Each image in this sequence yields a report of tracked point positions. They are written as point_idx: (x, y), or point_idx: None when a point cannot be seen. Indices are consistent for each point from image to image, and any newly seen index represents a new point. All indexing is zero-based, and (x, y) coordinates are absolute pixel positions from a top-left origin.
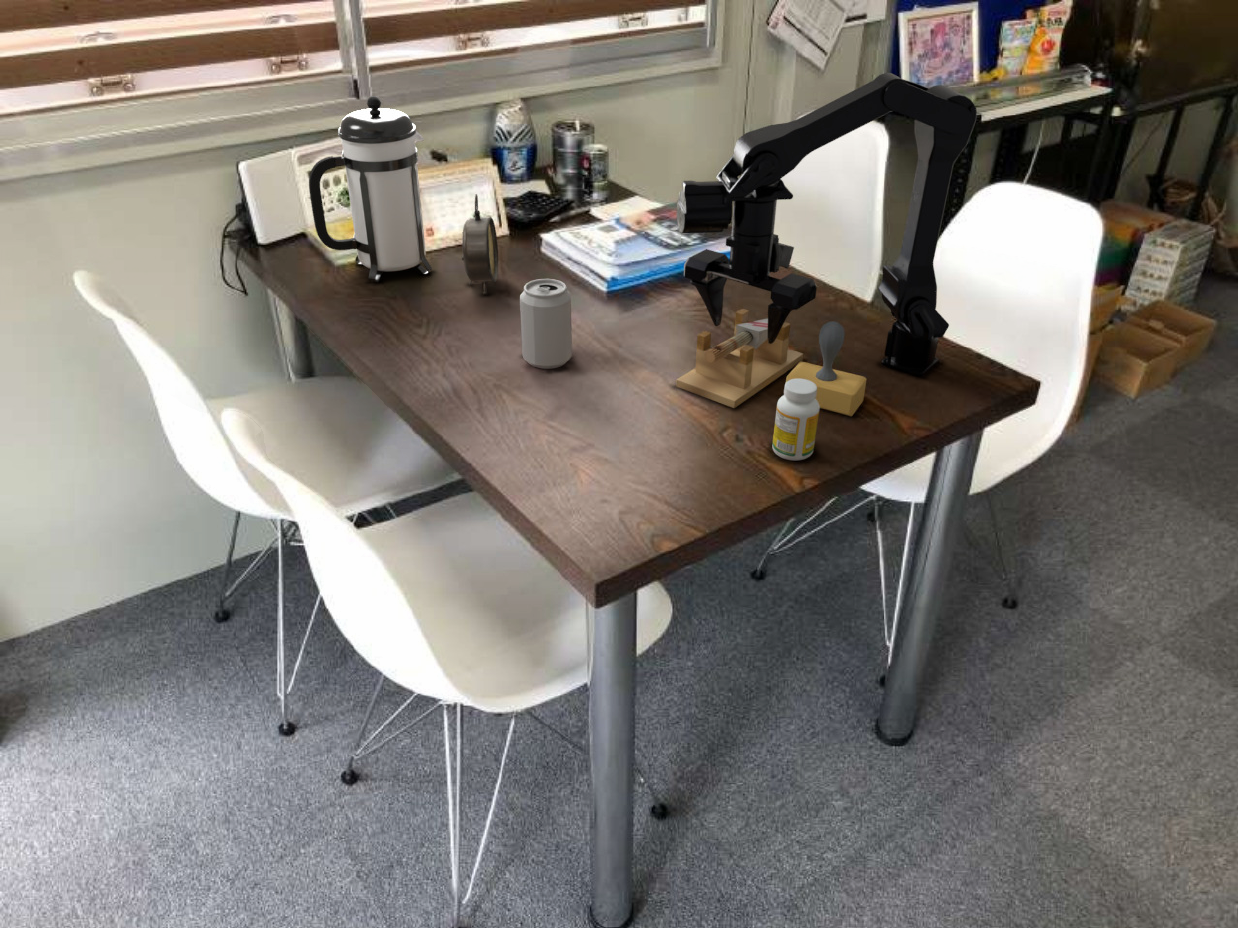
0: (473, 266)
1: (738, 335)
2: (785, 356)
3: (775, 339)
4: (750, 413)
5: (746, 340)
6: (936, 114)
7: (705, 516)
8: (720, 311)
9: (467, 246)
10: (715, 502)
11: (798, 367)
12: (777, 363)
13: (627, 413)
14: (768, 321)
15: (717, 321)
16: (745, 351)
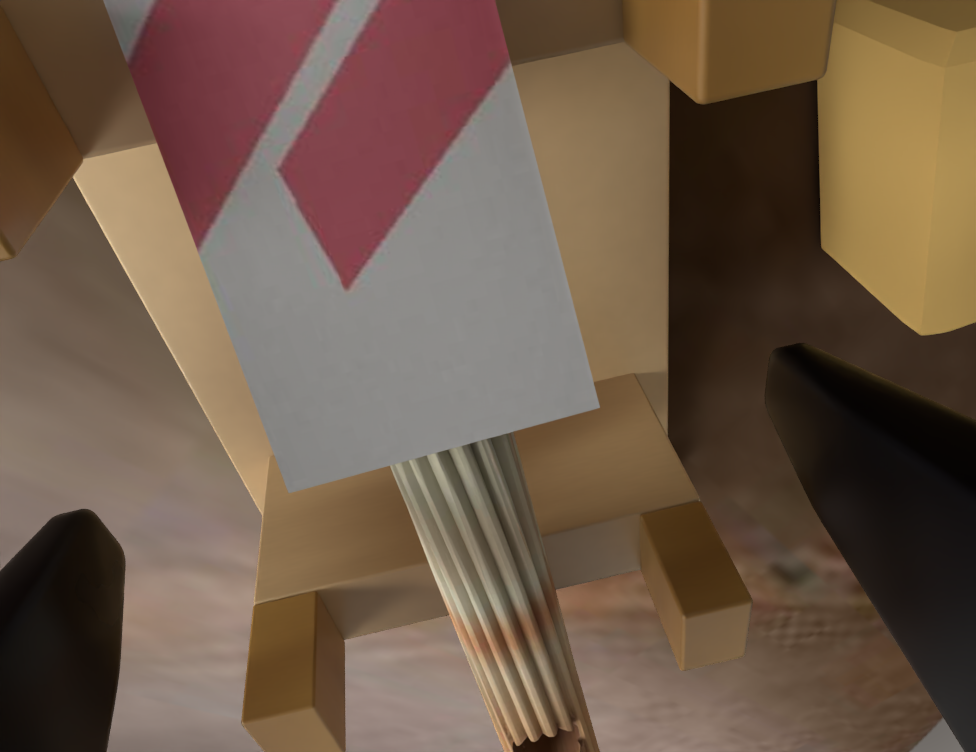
0: None
1: (475, 551)
2: None
3: (822, 352)
4: (736, 454)
5: (519, 457)
6: None
7: (879, 745)
8: (35, 668)
9: None
10: (877, 719)
11: (972, 181)
12: None
13: (379, 732)
14: (972, 744)
15: (107, 597)
16: (727, 656)
